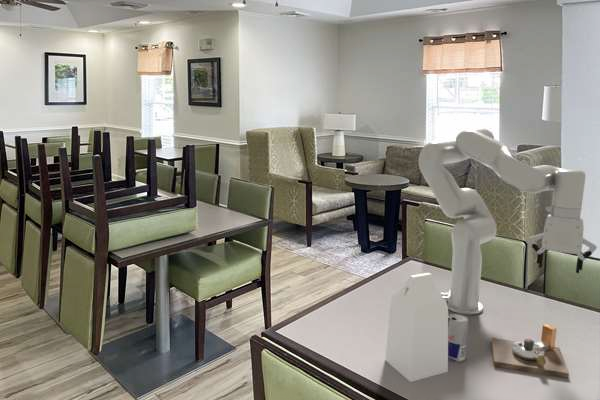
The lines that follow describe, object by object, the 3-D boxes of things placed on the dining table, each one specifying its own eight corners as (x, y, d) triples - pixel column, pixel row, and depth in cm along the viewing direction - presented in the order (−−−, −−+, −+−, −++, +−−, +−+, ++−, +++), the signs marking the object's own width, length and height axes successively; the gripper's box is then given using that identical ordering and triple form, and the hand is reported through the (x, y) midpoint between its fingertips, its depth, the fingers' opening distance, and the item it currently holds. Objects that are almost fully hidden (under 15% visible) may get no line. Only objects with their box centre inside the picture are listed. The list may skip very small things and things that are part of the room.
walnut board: (493, 366, 131) (495, 347, 130) (491, 342, 144) (492, 325, 143) (568, 378, 125) (570, 359, 124) (558, 352, 138) (560, 334, 137)
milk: (410, 381, 124) (415, 285, 118) (385, 360, 134) (388, 271, 129) (447, 371, 128) (454, 278, 123) (420, 351, 139) (425, 265, 133)
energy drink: (442, 352, 138) (445, 313, 135) (460, 352, 138) (463, 313, 136) (449, 362, 133) (452, 322, 130) (468, 362, 133) (471, 321, 131)
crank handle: (530, 363, 129) (532, 342, 128) (505, 349, 136) (507, 329, 135) (562, 352, 135) (565, 332, 133) (537, 340, 142) (539, 320, 140)
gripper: (531, 211, 139) (525, 267, 143) (601, 218, 131) (593, 278, 135) (533, 206, 146) (527, 260, 149) (600, 213, 138) (592, 270, 141)
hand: (558, 269), depth 142 cm, fingers open, 9 cm apart
